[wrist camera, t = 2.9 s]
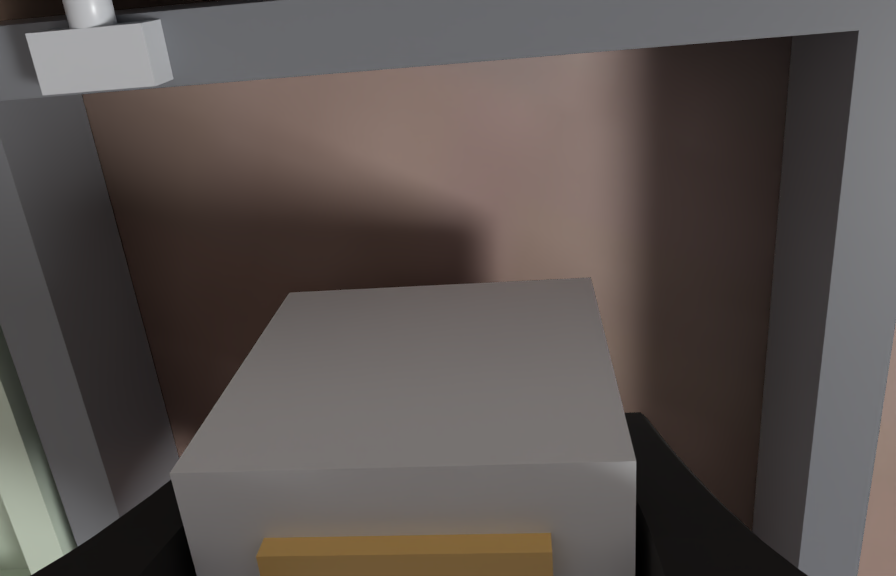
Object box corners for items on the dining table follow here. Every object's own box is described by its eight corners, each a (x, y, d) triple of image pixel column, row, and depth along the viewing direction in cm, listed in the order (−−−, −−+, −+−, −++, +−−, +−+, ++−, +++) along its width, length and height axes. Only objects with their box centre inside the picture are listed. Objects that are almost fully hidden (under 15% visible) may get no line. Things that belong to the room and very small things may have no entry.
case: (791, 627, 17) (892, 870, 13) (185, 633, 19) (81, 853, 14) (879, -165, 11) (1131, -242, 7) (-23, -70, 13) (-320, -81, 8)
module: (594, 526, 15) (637, 813, 10) (331, 530, 15) (245, 805, 10) (591, 277, 13) (640, 478, 8) (289, 292, 13) (157, 490, 8)
